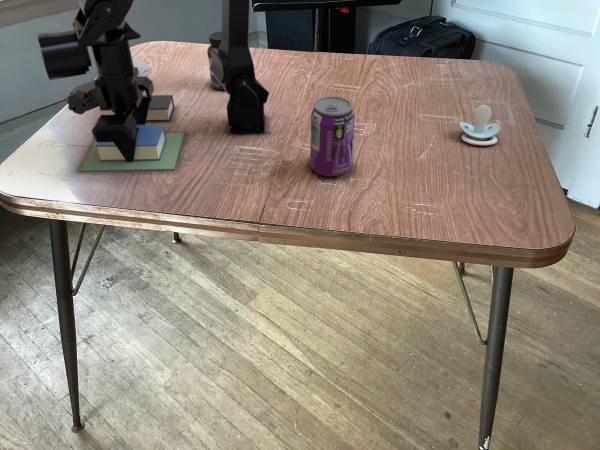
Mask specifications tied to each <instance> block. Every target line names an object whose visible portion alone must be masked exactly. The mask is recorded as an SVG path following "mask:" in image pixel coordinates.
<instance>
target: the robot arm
mask: <svg viewBox="0 0 600 450" xmlns="http://www.w3.org/2000/svg"><path fill="white" fill-rule="evenodd" d="M134 1H135V0H78V4H79V8H78V10H77V12H76V15H75V16H74V19H73V20H72V23H71V28H72V29H70V30H69V29H68V30H64V31H57V32H42V33H37V35H36V37H37V41H38V44H39V47H40V54H41V58H42V62H43V65H44V69H45V72H46V74H47V79H48V80H49V82H50V81H55V80H63V79H67V78H72V77H78V76H79V77H80V76H83V75H87V72H90V67H93V64H92V61H91V56H90V53H89V49H88V48H89V47H90V48H91V51H92V55H93V59H94V62H95V67H96V70H97V74H98V75H97V77H96V78H95V79H92V80H90V81H87V82H85V83H82V84H79V85H78V86H76V87H74V88H73V89H72V90H71V92H70V93H69V94H68V96H67V98H66V99H67V100H66V103H67V105H68V107H67V109H68V110H69V111H71V112H73V114H77V115H78V116H79V115H80V116H81V115H84V114H85V112H89V111H91V110H94V109H96V108H98V107H99V111H101V112H102V111H103V110H108V109H111V111H112V113H115V114H114V115H103V114H100V116H99V117H98V118H97V120H96V121H95V123H94V125H93V127H92V129H91V134H92V137H93V141H94V142H95V141H96V142H113V143H114V144H115V145H116V147H117V148H118V149H119V151H120V152H121V154H122V155H123V157H124V158H125V160H126V161H127V162H133V161H134V156H135V150H136V144H137V139H138V133H139V128H137V125H147V124H146V123H147V121H146V120H147V116H148V111H149V107H150V103H151V99H152V98H151V96H152V95H153V94H154V91H155V89H154V84H153V80H151V79H150V78H147V77H146V76H144V77H137V76H138V73H139V72H138V67H134V65H133V60H132V57H133V56H132V51H131V47H130V42H129V41H132V40H138V39H141V37H142V35H141V33H140V32H139V30H138V29H137V28H136V26H134V25H131V24H130V23H129V22H128V21H127V19H125V18H126V17H127V15H128V13H129V11H130V10H131V8H132V6H133V4H134ZM249 23H250V0H221V31H222V40H221V43H220V45H219V48H218V49H212V48H211V57H212V64H211V67H210V68H209V71H210V70H211V71H212V72H213V74H214V76H215V78H216V79H217V81H218V82H219V83H220V84H221V86H222V87H223V88H224V89H225V90H224V91H225V92H226V93H227V94H228V95H229V98H228V100H227V103H226V115H227V125H228V127H230V130H229V131H230V134H234V135H235V134H237V135H238V134H264V133H265V132H266V118H267V117H266V114H265V104H266V103H267V101H268V99H269V94H270V91H268V90H267V89H266V88H265V87H264V86H263V85H262V83H261V82H260V81H258V79H257V78H256V72H255V64H254V61H253V56H252V54H251V49H250V46H249V28H250V27H249V26H250V24H249ZM144 91H145V95H147V96H148V97H143V95H144Z"/></svg>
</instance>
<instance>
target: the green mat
mask: <svg viewBox="0 0 600 450" xmlns="http://www.w3.org/2000/svg"><path fill="white" fill-rule="evenodd" d="M165 133H166V132H165ZM184 136H185V133H184V132H171V133H170V132H169V133H168V132H167V133H166V138H167V140H166V144H165V147H164V150H163V153H162V156H161V159H160V160H147V161H133V162H127V161H100V155H99V152H98V148H97V147H96V144H97V142H96V141H94V143H93V145H92V146H91V148H90V150H89V152H88V154H87V156H86V158H85V160H84V161H83V164H82V166H81V167H80V172H123V171H124V172H125V171H127V172H129V171H130V172H131V171H174V170H175V169H176V165H177V161H178V158H179V154H180V150H181V147H182V143H183V140H184Z"/></svg>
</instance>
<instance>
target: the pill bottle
mask: <svg viewBox="0 0 600 450" xmlns="http://www.w3.org/2000/svg"><path fill="white" fill-rule="evenodd" d="M221 40H222V30H219V31H214V32H211V33H210V34H209V35H208V41H209V44H210V45H209V46H208V48H207V50H206V51H207V52H206V53H207V60H208V67H209V77H210V83H211V86H212V88H213V89H215V90H218V91H226V90H225V89H224V88H223V87H222V86H221V84H220V83H219V82H218V81H217V79H216V78H215V76H214V74H213V72H212V71H211V70H210V67H211V64H212V57H211V48H212V49H218V48H219V45H220V43H221Z"/></svg>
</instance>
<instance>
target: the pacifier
mask: <svg viewBox="0 0 600 450" xmlns="http://www.w3.org/2000/svg"><path fill="white" fill-rule="evenodd" d="M491 109H492V108H491V107H489V105H487V104H480V105H478V106H477V107H476V109H475V110H474V112H473V117H474V123H473V125H472V124H470V123H467V122H465V121H460V122H459V127H460V129H461V131H463V132H464V134H462V135H461V140H462V141H463V142H465V143H467V144H470V145H474V146H492V145H494V144H497V143H498V138H497V137H496V135H497V134H498V133H500V130H501V125H500V124H499V123H488V121H489V120H490V119H491V117H492V110H491ZM488 139H490V140H488Z"/></svg>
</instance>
